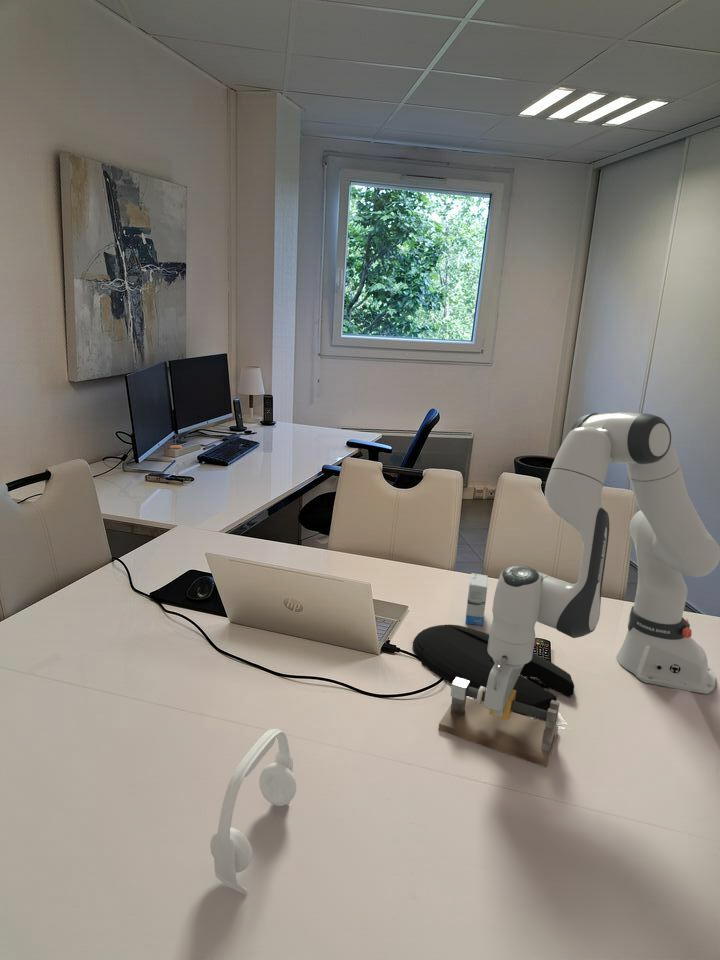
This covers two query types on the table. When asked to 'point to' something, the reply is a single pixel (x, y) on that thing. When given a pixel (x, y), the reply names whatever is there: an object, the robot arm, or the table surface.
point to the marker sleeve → (506, 707)
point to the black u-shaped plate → (486, 664)
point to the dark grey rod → (515, 705)
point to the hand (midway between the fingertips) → (502, 706)
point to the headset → (275, 787)
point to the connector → (459, 695)
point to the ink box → (476, 599)
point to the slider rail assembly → (505, 731)
